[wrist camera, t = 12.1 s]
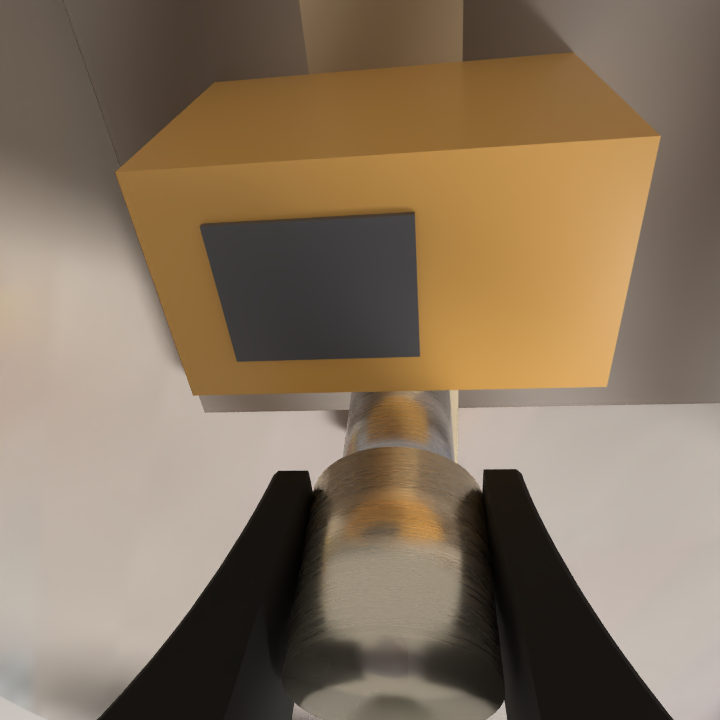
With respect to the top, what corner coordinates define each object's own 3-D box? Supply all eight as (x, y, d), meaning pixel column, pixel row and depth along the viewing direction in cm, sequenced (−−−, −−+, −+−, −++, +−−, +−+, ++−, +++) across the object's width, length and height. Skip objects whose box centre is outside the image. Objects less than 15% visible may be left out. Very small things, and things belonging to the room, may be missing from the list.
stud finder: (573, 52, 11) (663, 139, 7) (550, 244, 13) (608, 391, 9) (214, 82, 12) (111, 174, 8) (253, 259, 14) (191, 399, 10)
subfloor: (1656, -838, 6) (1879, -972, 5) (873, 434, 18) (898, 464, 17) (-60, -480, 9) (-119, -527, 8) (233, 442, 20) (224, 469, 19)
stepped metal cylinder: (472, 332, 13) (512, 638, 8) (468, 438, 15) (499, 740, 10) (323, 336, 14) (261, 631, 8) (340, 440, 16) (299, 731, 10)
